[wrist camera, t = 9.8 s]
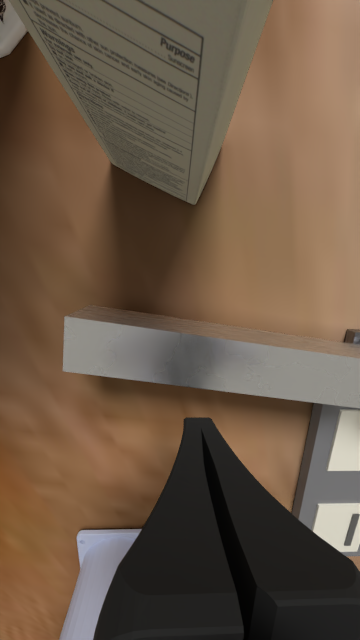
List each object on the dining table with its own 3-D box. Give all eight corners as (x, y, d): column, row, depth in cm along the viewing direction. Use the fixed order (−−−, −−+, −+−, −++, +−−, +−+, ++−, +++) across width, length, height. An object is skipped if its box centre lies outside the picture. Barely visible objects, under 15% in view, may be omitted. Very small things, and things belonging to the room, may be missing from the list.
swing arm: (87, 347, 15) (62, 371, 11) (90, 304, 14) (64, 316, 11) (359, 384, 16) (408, 414, 13) (374, 346, 15) (430, 368, 12)
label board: (359, 543, 23) (370, 559, 21) (285, 544, 22) (292, 561, 21) (406, 392, 18) (424, 401, 17) (316, 391, 18) (326, 400, 17)
